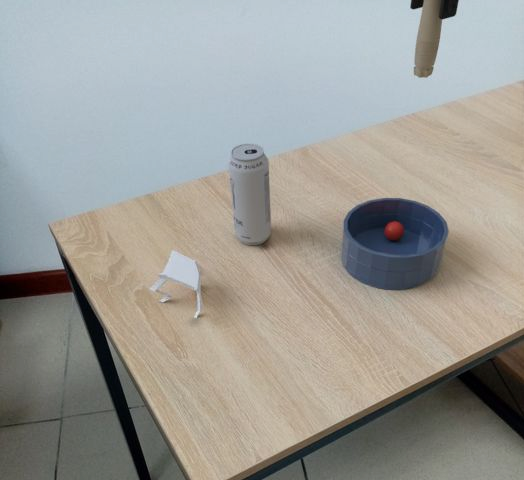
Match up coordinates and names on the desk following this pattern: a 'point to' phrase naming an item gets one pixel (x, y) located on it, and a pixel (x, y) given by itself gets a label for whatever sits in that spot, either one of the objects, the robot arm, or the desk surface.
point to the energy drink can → (250, 193)
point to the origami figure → (181, 276)
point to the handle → (427, 38)
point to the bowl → (393, 243)
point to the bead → (394, 231)
